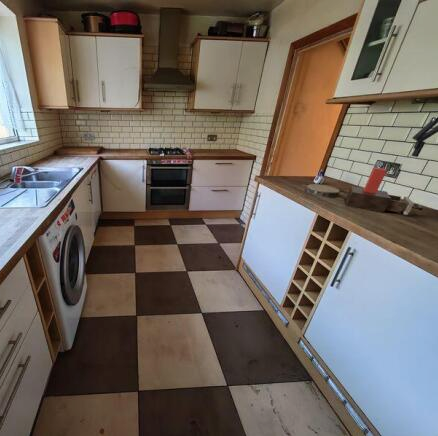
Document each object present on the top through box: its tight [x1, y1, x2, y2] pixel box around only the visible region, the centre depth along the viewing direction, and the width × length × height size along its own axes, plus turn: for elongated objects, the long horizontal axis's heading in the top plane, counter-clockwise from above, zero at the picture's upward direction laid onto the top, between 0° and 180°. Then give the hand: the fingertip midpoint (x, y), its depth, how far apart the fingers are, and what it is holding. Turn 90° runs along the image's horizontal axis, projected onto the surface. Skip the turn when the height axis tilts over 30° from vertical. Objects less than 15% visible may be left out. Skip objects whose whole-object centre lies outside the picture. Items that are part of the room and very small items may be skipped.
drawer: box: [385, 194, 424, 216], centre depth 114 cm, size 18×12×6 cm
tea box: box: [363, 167, 388, 194], centre depth 116 cm, size 4×4×12 cm
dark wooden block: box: [345, 185, 391, 213], centre depth 120 cm, size 15×14×8 cm
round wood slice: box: [306, 183, 340, 198], centre depth 138 cm, size 16×16×3 cm
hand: (433, 157), depth 102 cm, fingers open, 13 cm apart
